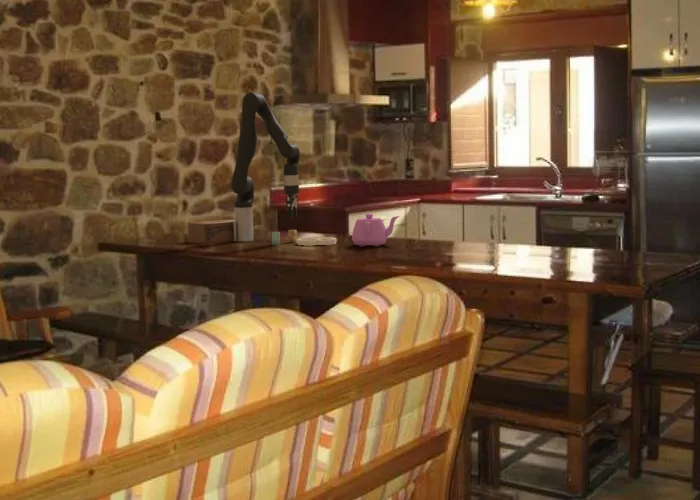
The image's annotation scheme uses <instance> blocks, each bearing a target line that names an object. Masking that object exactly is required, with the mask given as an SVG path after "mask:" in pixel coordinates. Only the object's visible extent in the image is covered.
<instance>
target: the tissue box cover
mask: <svg viewBox="0 0 700 500" xmlns="http://www.w3.org/2000/svg"><path fill="white" fill-rule="evenodd" d="M234 222H235V219H219V220H209V221H208V220H206V221H193V222H188V223H187V227H188V229H187V232H188V242H189V243H196V244H214V243H223V242H232V241H233V242H235V241H234Z"/></svg>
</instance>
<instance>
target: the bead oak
mask: <svg viewBox="0 0 700 500" xmlns="http://www.w3.org/2000/svg"><path fill="white" fill-rule="evenodd" d="M297 234H298V231H297V229H288V243H289V242H295V243H297V239H298V235H297Z"/></svg>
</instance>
